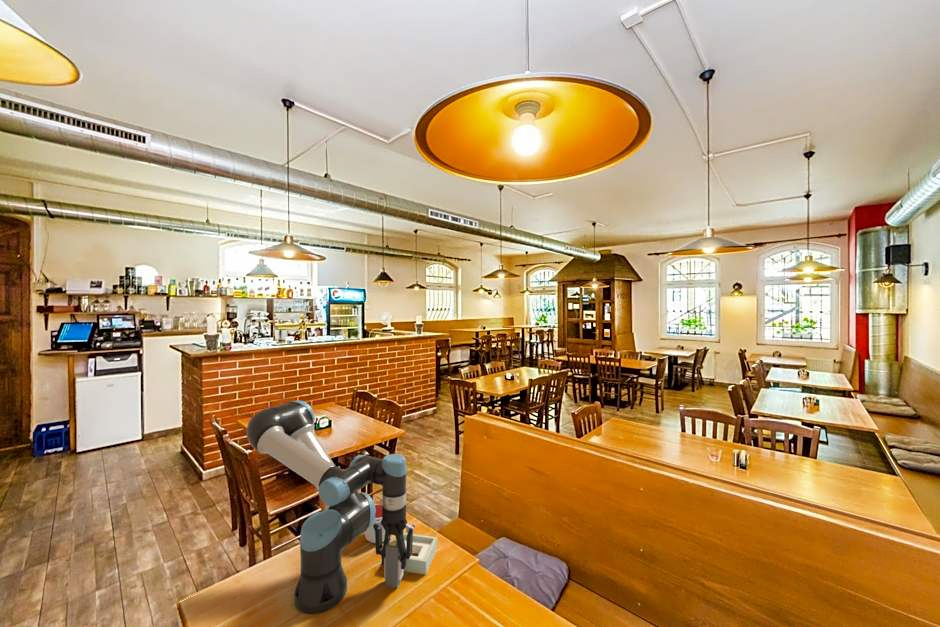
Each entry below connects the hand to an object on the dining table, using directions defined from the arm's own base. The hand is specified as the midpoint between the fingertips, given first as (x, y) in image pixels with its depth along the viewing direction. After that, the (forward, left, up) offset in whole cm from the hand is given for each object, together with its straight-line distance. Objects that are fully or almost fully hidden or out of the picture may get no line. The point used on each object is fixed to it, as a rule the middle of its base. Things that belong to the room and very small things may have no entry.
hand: (393, 576), depth 121 cm
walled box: (+2, +12, -2) cm, 12 cm away
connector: (0, 0, -2) cm, 2 cm away
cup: (-15, +21, -2) cm, 26 cm away
